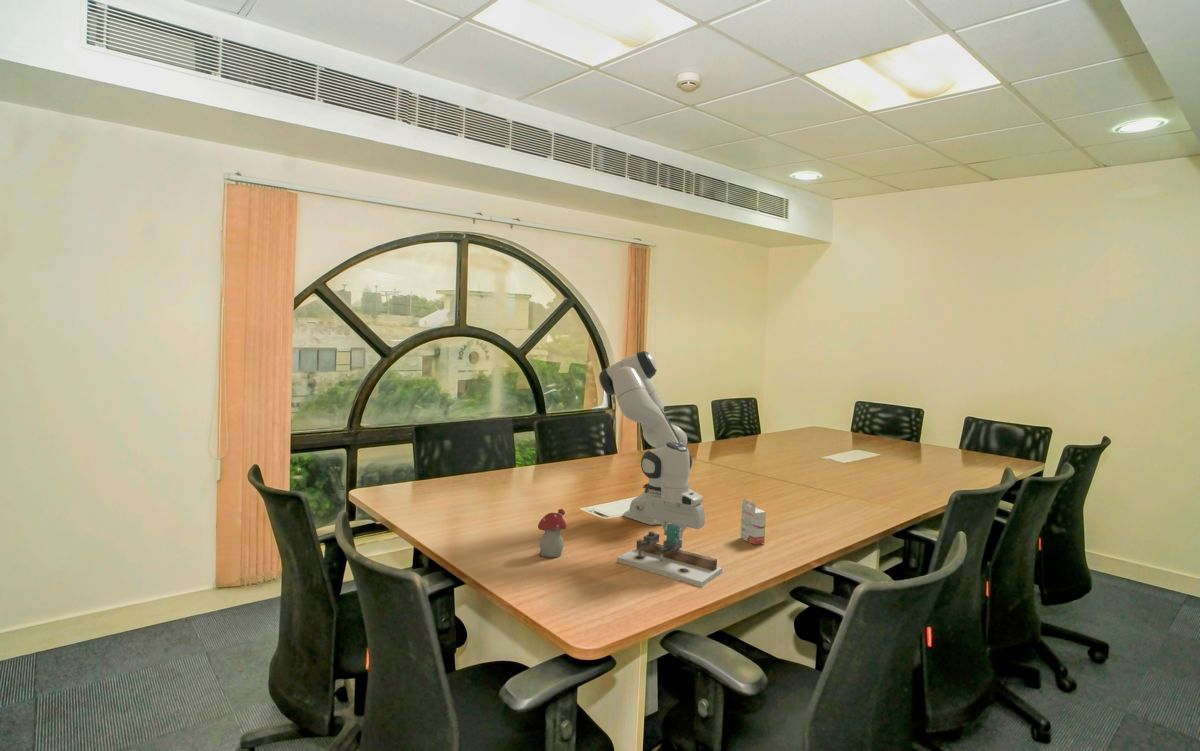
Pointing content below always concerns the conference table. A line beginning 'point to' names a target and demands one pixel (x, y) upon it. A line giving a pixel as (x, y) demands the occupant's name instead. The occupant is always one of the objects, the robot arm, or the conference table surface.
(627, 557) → the bolt plate
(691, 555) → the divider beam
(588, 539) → the conference table surface
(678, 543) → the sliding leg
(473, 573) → the conference table surface
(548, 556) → the decorative ornament
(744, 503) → the ink cartridge box
